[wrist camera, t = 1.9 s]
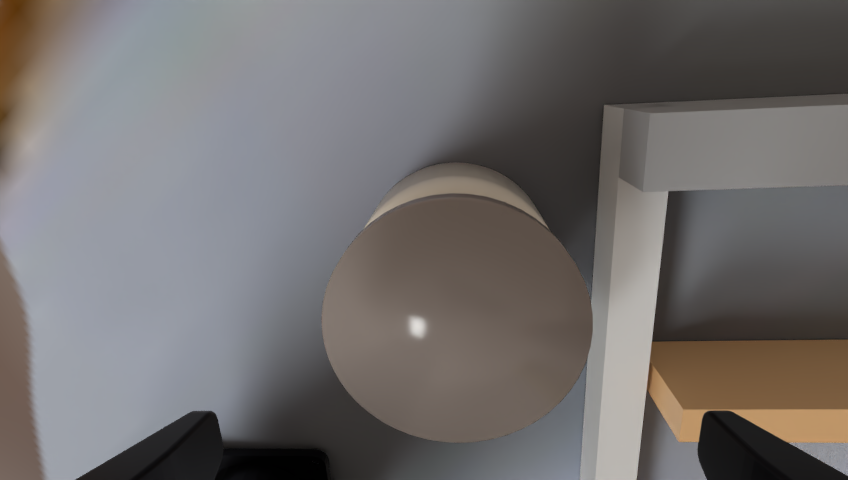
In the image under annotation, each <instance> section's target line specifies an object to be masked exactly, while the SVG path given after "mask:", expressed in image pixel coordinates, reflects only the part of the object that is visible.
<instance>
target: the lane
mask: <svg viewBox="0 0 848 480" xmlns="http://www.w3.org/2000/svg"><path fill="white" fill-rule="evenodd" d="M839 185H848V94H829V95H807V96H786V97H764V98H743V99H721V100H700V101H678V102H657V103H635V104H613V105H604V113H603V128H602V144H601V159H600V175H599V190H598V206H597V221H596V237H595V252H594V268H593V283H592V299H591V307H592V313H593V333H592V340H591V347H590V350H589V354H588V360H587V376H586V391H585V407H584V422H583V438H582V453H581V469H580V480H637V471H638V462H639V453H640V444H641V435H642V426H643V417H644V408H645V399H646V390H647V381H648V372H649V362H650V353H651V344H652V335H653V326H654V317H655V308H656V299H657V290H658V281H659V272H660V263H661V254H662V245H663V236H664V227H665V218H666V209H667V200H668V191H689V190H719V189H749V188H779V187H809V186H839Z"/></svg>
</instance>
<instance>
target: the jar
mask: <svg viewBox="0 0 848 480" xmlns="http://www.w3.org/2000/svg"><path fill="white" fill-rule="evenodd" d="M321 319H322V335H323V340H324V345H325V349H326V352H327V355H328V358H329V361H330V364H331V366H332V368H333V370H334V372H335V373H336V375H337V377H338V379H339V380H340V382H341V383H342V385H343V386H344V388H345V389H346V390H347V392H348V393H349V394H350V395H351V396H352V397H353V398H354V399H355V401H356V402H357V403H359V404H360V405H361V406H362V407H363V408H364V409H365V410H366V411H368V412H369V413H370V414H372V415H373V416H375V417H376V418H377V419H379V420H380V421H382V422H384V423H386V424H387V425H389V426H391V427H393V428H395V429H397V430H400V431H402V432H405V433H407V434H410V435H413V436H416V437H420V438H424V439H428V440H434V441H440V442H453V443H465V442H478V441H484V440H491V439H494V438H498V437H502V436H505V435H508V434H511V433H513V432H516V431H518V430H521V429H523V428H525V427H527V426H528V425H530V424H532V423H534V422H536V421H537V420H539V419H540V418H542V417H543V416H544V415H546V414H547V413H549V412H550V411H551V410H552V409H553V408H554V407H555V406H556V405H557V404H559V403H560V402H561V401H562V399H563V398H564V397H565V396H566V395H567V394H568V392H569V391H570V390H571V389H572V387H573V385H574V384H575V382H576V381H577V379H578V378H579V376H580V374H581V372H582V370H583V367H584V365H585V363H586V360H587V357H588V354H589V350H590V347H591V340H592V333H593V313H592V307H591V301H590V297H589V293H588V290H587V287H586V284H585V281H584V279H583V277H582V275H581V273H580V271H579V269H578V267H577V266H576V264H575V262H574V261H573V259H572V258H571V256H570V255H569V253H568V252H567V250H566V249H565V247H564V246H563V245H562V243H561V242H560V241H559V239H558V238H557V237H556V236H555V235H554V234H553V233H552V232H551V231H550V230H549V228H548V226H547V225H546V223H545V221H544V220H543V218H542V216H541V215H540V213H539V212H538V210H537V208H536V207H535V205H534V204H533V202H532V201H531V199H530V198H529V196H528V195H527V194H526V193H525V192H524V191H523V190H522V189H521V188H520V187H519V186H518V185H517V184H515V183H514V182H513V181H512V180H511V179H509V178H507V177H506V176H504V175H502V174H501V173H499V172H496V171H494V170H492V169H490V168H487V167H483V166H480V165H476V164H469V163H454V162H452V163H443V164H437V165H433V166H429V167H426V168H423V169H421V170H418V171H416V172H414V173H412V174H410V175H409V176H407V177H405V178H404V179H402V180H401V181H400V182H398V183H397V184H396V185H395V186H394V187H393V188H392V189H391V190H390V191H389V192H388V193H387V194H386V195H385V196H384V198H383V199H382V200H381V202H380V203H379V205H378V206H377V208H376V210H375V211H374V213H373V215H372V216H371V218H370V220H369V221H368V223H367V224H366V226H365V228H364V229H363V230H362V231H361V232H360V233H359V234H358V235H357V236H356V238H355V239H354V240H353V241H352V243H351V244H350V245H349V246H348V248H347V249H346V251H345V253H344V254H343V256H342V257H341V259H340V261H339V262H338V264H337V266H336V267H335V269H334V271H333V273H332V275H331V278H330V280H329V283H328V285H327V288H326V292H325V296H324V300H323V307H322V318H321Z"/></svg>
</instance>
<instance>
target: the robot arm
mask: <svg viewBox="0 0 848 480" xmlns="http://www.w3.org/2000/svg"><path fill="white" fill-rule="evenodd" d="M698 458H699V461H700V464H701V467H702V469H703V471H704V474H705V476H706V479H707V480H848V476H847V475H845V474H843V473H841V472H839V471H838V470H836V469H834V468H832V467H831V466H829V465H827V464H825V463H823V462H822V461H820V460H818V459H816V458H814V457H813V456H811V455H809V454H807V453H805V452H804V451H802V450H800V449H798V448H797V447H795V446H793V445H791V444H789V443H788V442H786V441H784V440H782V439H780V438H779V437H777V436H775V435H773V434H771V433H770V432H768V431H766V430H764V429H762V428H761V427H759V426H757V425H755V424H754V423H752V422H750V421H748V420H746V419H745V418H743V417H741V416H739V415H737V414H736V413H734V412H732V411H728V410H709V411H707V412H705V413H704V415H703V418H702V423H701V429H700V436H699V442H698ZM313 461H317V462H318V464H317V463H314V462H313ZM76 480H331V476H330V469H329V461H328V457H327V455H326V454H325V453H324V452H323V451H321V450H317V449H223V442H222V437H221V433H220V428H219V423H218V419H217V416H216V414H215V413H214V412H212V411H192V412H190V413H188V414H186V415H185V416H183V417H181V418H180V419H178V420H176V421H174V422H173V423H171V424H169V425H168V426H166V427H164V428H163V429H161V430H159V431H157V432H156V433H154V434H152V435H151V436H149V437H147V438H146V439H144V440H142V441H140V442H139V443H137V444H135V445H134V446H132V447H130V448H129V449H127V450H125V451H123V452H122V453H120V454H118V455H117V456H115V457H113V458H112V459H110V460H108V461H106V462H105V463H103V464H101V465H100V466H98V467H96V468H94V469H93V470H91V471H89V472H88V473H86V474H84V475H83V476H81V477H79V478H77V479H76Z"/></svg>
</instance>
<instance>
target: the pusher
mask: <svg viewBox="0 0 848 480" xmlns="http://www.w3.org/2000/svg"><path fill="white" fill-rule="evenodd" d="M647 391H648V392H649V394H650V396H651V397H652V399H653V401H654V402H655V404H656V405H657V407H658V409H659V410H660V412H661V414H662V415H663V417H664V419H665V420H666V422H667V423H668V425H669V427H670V428H671V430H672V432H673V433H674V435H675V437H676V438H677V440H678V441H679V442H699V436H700V429H701V423H702V418H703V415H704V413H705V412H707V411H709V410H728V411H732V412H734V413H736V414H737V415H739V416H741V417H743V418H745V419H746V420H748V421H750V422H752V423H754V424H755V425H757V426H759V427H761V428H762V429H764V430H766V431H768V432H770V433H771V434H773V435H775V436H777V437H779V438H780V439H782V440H784V441H786V442H812V443H848V339H846V340H753V341H660V342H652V344H651V353H650V362H649V372H648V381H647Z"/></svg>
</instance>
